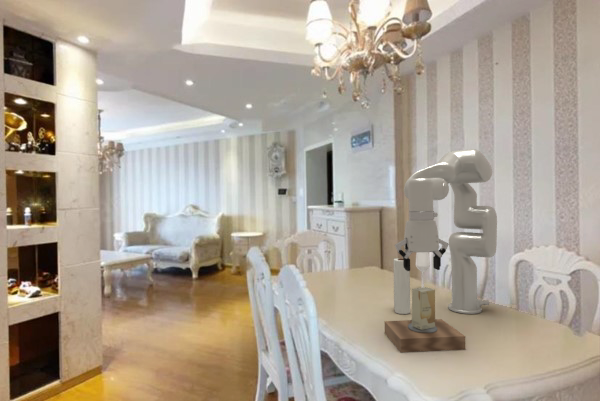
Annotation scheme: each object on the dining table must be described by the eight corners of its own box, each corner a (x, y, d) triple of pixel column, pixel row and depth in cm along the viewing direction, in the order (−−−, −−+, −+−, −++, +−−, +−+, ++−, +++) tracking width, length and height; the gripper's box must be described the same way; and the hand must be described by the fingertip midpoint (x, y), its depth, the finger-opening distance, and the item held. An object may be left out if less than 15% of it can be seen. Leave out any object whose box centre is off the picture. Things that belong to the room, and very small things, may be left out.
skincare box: (421, 330, 115) (420, 291, 115) (411, 326, 119) (410, 288, 119) (436, 327, 118) (435, 289, 118) (426, 323, 122) (425, 286, 122)
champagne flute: (428, 294, 176) (427, 243, 176) (414, 292, 179) (413, 243, 179) (431, 291, 181) (431, 242, 181) (417, 289, 185) (417, 241, 185)
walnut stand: (441, 330, 127) (441, 317, 127) (465, 349, 111) (465, 334, 111) (384, 332, 126) (384, 320, 126) (400, 352, 110) (400, 337, 110)
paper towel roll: (410, 315, 145) (410, 260, 145) (395, 314, 146) (394, 260, 146) (409, 309, 152) (408, 257, 152) (394, 308, 153) (393, 257, 153)
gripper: (441, 215, 123) (442, 266, 123) (391, 216, 122) (392, 268, 122) (452, 216, 115) (453, 271, 116) (398, 218, 114) (399, 273, 115)
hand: (422, 269), depth 119 cm, fingers open, 9 cm apart
